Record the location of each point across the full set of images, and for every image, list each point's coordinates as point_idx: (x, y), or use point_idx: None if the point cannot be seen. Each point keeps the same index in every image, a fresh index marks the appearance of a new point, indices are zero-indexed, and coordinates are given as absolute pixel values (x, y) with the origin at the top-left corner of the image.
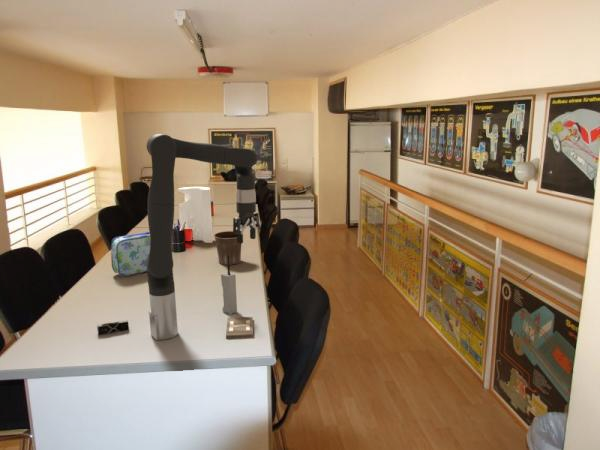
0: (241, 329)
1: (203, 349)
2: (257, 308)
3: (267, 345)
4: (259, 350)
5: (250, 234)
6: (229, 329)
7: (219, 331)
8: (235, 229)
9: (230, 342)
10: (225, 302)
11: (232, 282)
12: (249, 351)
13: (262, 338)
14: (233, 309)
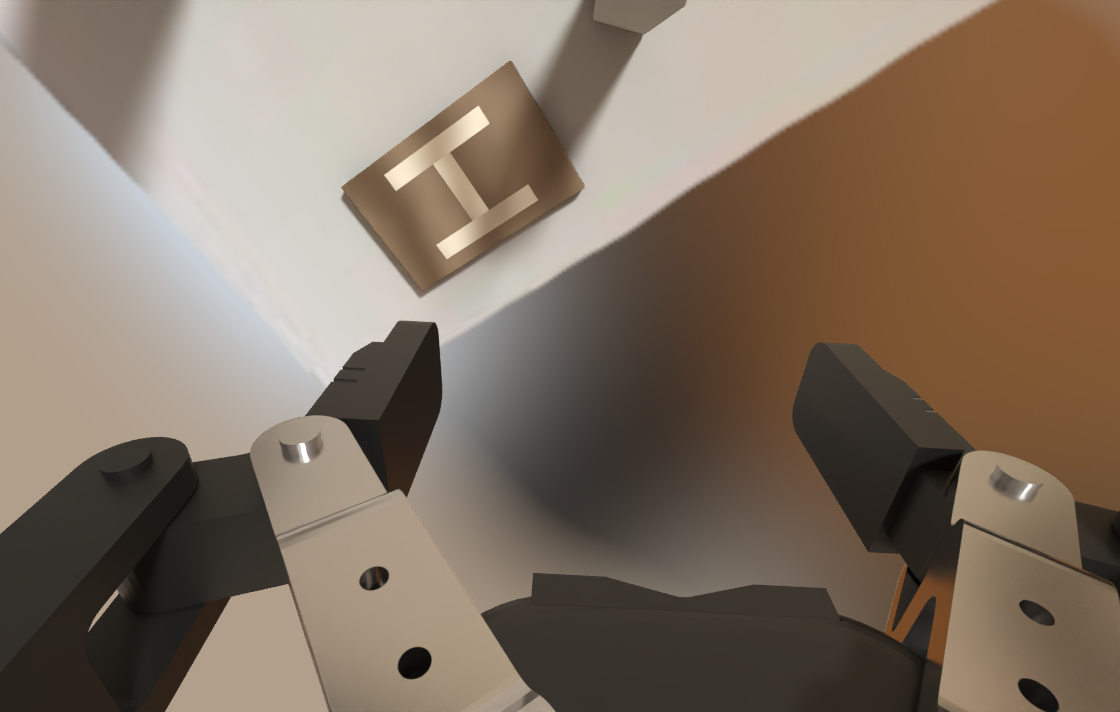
0: (431, 220)
1: (207, 152)
2: (733, 126)
3: None
4: None
5: (850, 388)
6: (399, 164)
7: (385, 103)
8: (127, 540)
9: (331, 225)
10: None
11: (635, 3)
12: (321, 334)
13: None
14: (618, 25)
